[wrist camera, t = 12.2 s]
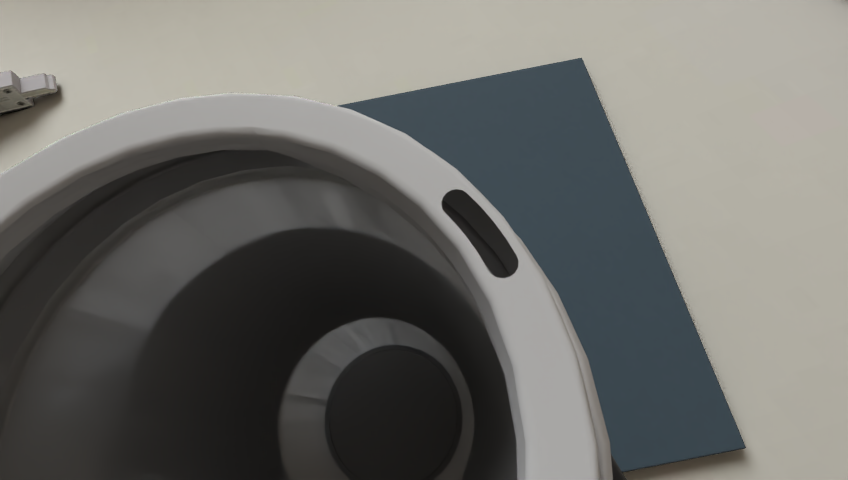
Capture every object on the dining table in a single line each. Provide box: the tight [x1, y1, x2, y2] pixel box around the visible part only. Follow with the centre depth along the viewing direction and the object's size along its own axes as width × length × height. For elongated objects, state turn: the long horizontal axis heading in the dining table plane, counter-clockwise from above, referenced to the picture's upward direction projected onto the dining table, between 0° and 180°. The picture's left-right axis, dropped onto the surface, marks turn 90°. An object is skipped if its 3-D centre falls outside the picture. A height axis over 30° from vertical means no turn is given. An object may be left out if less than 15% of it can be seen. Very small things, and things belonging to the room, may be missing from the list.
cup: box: [0, 92, 613, 480], centre depth 8 cm, size 7×7×12 cm
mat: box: [339, 58, 746, 472], centre depth 16 cm, size 16×14×1 cm
